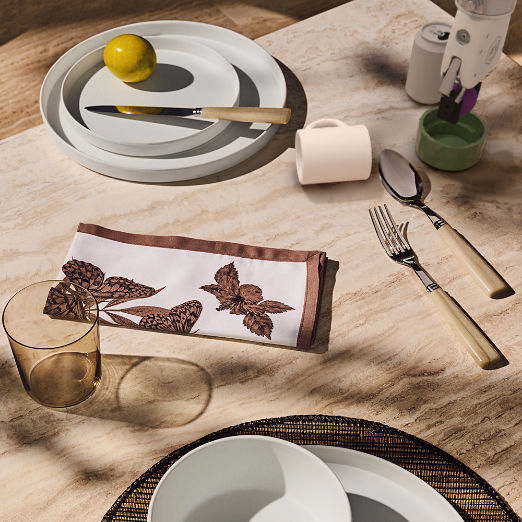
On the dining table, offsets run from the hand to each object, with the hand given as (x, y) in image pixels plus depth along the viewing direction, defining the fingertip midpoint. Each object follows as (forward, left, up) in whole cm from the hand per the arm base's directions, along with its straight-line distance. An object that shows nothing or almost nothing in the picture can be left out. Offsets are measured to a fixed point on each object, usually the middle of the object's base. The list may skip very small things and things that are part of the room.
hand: (456, 109), depth 100 cm
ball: (0, 0, +2) cm, 2 cm away
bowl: (0, 0, -8) cm, 8 cm away
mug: (+19, +1, -8) cm, 21 cm away
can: (-1, -15, -8) cm, 17 cm away
